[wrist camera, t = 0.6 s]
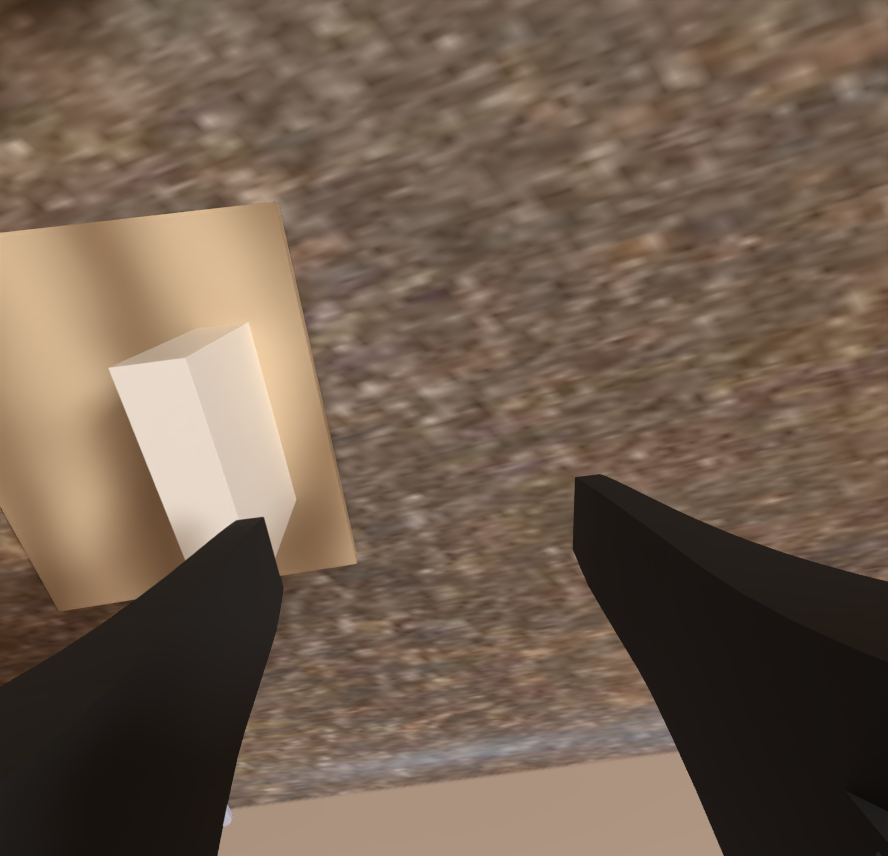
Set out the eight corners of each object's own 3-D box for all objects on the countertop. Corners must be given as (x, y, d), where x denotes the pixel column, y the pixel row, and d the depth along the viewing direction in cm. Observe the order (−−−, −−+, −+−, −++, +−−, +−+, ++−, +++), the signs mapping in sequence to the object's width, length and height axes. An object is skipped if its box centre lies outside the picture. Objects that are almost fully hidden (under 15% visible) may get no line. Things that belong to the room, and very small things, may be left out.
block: (250, 506, 21) (200, 602, 15) (194, 328, 18) (106, 368, 12) (296, 499, 21) (263, 591, 15) (248, 321, 18) (185, 357, 12)
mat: (67, 602, 22) (58, 611, 22) (-126, 248, 16) (-144, 249, 16) (357, 555, 23) (356, 563, 23) (278, 202, 17) (274, 201, 17)
